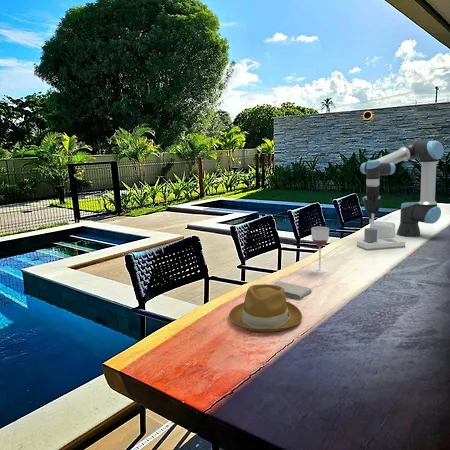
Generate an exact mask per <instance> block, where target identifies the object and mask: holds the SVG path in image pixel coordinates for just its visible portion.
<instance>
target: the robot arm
mask: <svg viewBox="0 0 450 450" xmlns="http://www.w3.org/2000/svg"><path fill="white" fill-rule="evenodd" d="M444 151H445V149H444V145H443V144H442V143H441V142H440V141H439V140H422V141H421V140H420V141H419V140H418V141H414V142H411V143H408V144H406V145H405V144H404V145H403V146H402V147H401V146H400V148H399V149H398V150H395V151H394V152H391V153H388V154H386V155H384V156H382V157H379V158H376V159H372V160H367V161H366V162H363V163H361V165H360V167H359V170H360V173H362V174H363V175H366V177H365V178H366V180H365V181H366V186H365V193H366V194H365V196H364V197H362V198H361V200H362V202H363V206H364V212H365V213H367V214H368V219H369V224H370V225H371V224H374V222H375V219H376V214H377V213H379V211H380V208H381V203H382V201H383V198H384V197H383V196H381V195H380V177H381V176H389V175H393V174H395V171H396V164H398V163H400V162H403V161H404V162H405V161H409V160H419V161H418V162H419V164H421V170H420V172H421V174H420V198H419V199H420V200H419V201H414V202H413V201H411V202H402V203H401V204H400V205H401V206H400V219H399V221H400V222H399V226H398V228H397V231H396V235H398V236H401V237H410V238H411V237H413V238H415V237H420V236H421V229H420V226H419V223H424V224H436V223H437V222H438V221H439V220H440V218H441V215H442V209H441V208H440V207H439V206H438V202H437V201H436V184H437V183H436V182H437V181H436V179H437V178H436V177H437V164H438V163H439V162H440V159H442V158H443V156H444V153H445V152H444Z"/></svg>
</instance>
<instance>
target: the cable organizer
mask: <svg viewBox="0 0 450 450" xmlns="http://www.w3.org/2000/svg"><path fill="white" fill-rule="evenodd" d="M369 228H374V229H377V239H386V238H395V237H396V223H395V222H393V221H379V220H376V221H374V224H370V225H369Z"/></svg>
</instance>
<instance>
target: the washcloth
mask: <svg viewBox="0 0 450 450" xmlns="http://www.w3.org/2000/svg"><path fill="white" fill-rule="evenodd" d="M274 282H275V281H274ZM272 285H277V286H280V287H282V288H284V291H285V295H286V298H288V299H289V298H290V299H293V300H301V299H303V298H304V297H305V296H308V295H309V294H311V293H312V288H310V287H307V286H302V285H299V284H294V283H289V282H284V281H280V280H279V281H276V282H275V283H273V284H272Z"/></svg>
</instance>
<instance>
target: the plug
mask: <svg viewBox="0 0 450 450" xmlns="http://www.w3.org/2000/svg"><path fill="white" fill-rule="evenodd" d="M363 236H364V237H363V239H364V242H367V243H373V242H377V229H374V228H370V227H369V228H368V227H366V228H364V235H363Z"/></svg>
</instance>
